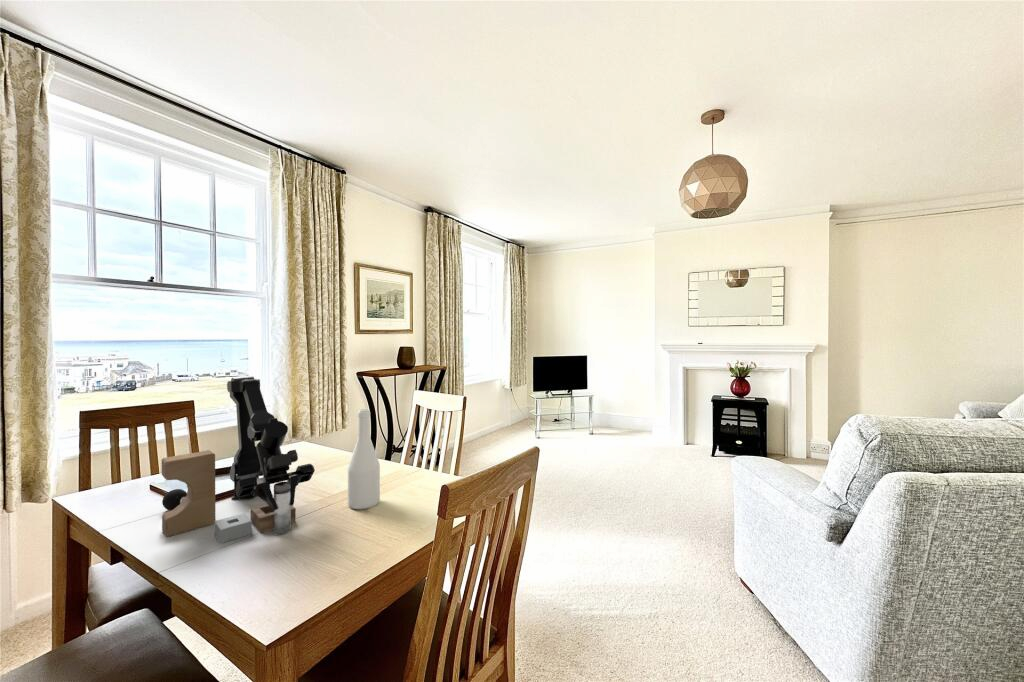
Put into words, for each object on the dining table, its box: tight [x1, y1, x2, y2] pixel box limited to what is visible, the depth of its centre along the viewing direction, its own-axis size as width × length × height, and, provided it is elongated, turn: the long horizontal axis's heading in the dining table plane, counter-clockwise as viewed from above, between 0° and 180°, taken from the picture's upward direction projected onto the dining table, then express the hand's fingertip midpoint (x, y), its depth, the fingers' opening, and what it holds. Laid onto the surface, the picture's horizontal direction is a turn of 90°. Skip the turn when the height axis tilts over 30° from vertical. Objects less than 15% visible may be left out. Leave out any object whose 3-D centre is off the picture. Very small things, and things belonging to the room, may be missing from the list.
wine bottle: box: [347, 408, 381, 510], centre depth 132 cm, size 10×10×30 cm
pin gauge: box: [273, 481, 292, 536], centre depth 113 cm, size 4×4×13 cm
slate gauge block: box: [213, 512, 253, 544], centre depth 112 cm, size 7×7×4 cm
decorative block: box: [161, 449, 217, 538], centre depth 115 cm, size 11×6×20 cm, turn 137°
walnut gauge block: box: [250, 503, 297, 534], centre depth 119 cm, size 9×9×4 cm
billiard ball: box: [161, 488, 187, 511], centre depth 127 cm, size 6×6×6 cm
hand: (284, 507), depth 112 cm, fingers closed on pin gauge, 4 cm apart
